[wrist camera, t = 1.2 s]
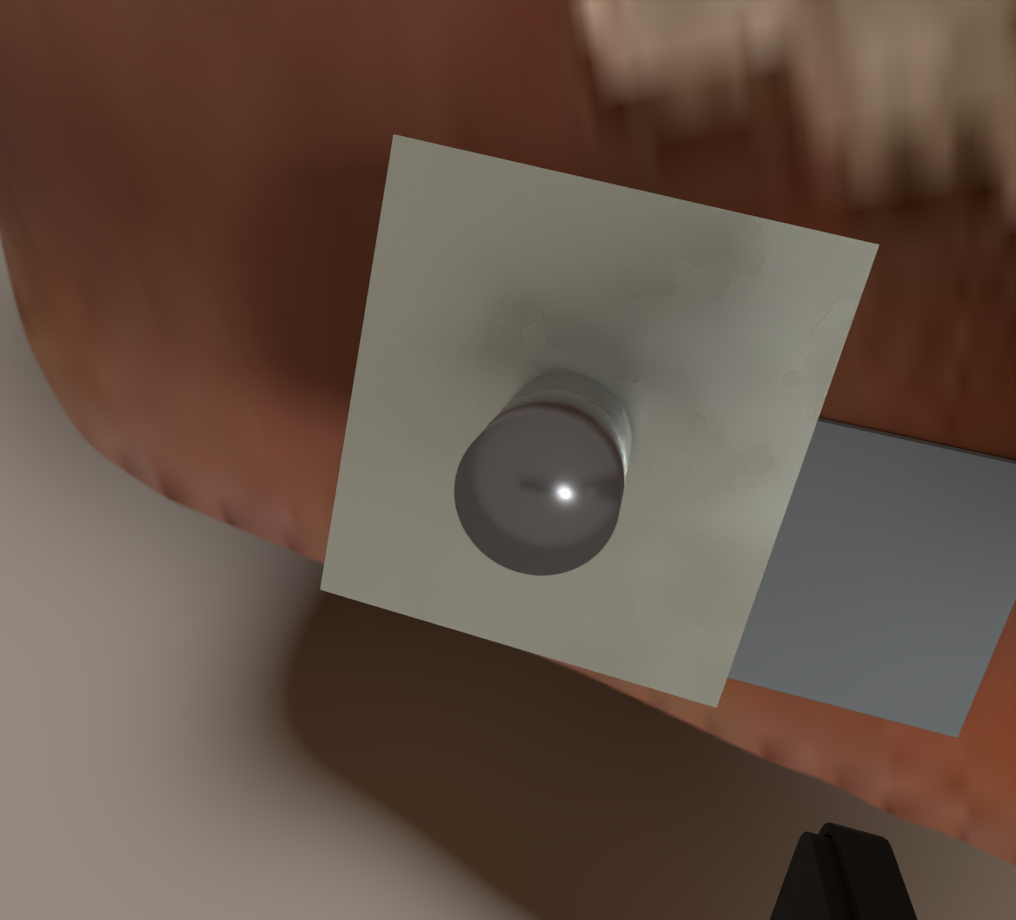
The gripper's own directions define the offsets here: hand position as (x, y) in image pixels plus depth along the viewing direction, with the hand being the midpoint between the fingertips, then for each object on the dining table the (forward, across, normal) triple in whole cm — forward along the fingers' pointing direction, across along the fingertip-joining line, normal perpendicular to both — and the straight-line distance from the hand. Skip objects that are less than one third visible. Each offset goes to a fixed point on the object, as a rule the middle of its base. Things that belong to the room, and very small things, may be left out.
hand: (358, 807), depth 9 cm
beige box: (+33, -1, -1) cm, 33 cm away
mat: (+32, -15, +8) cm, 36 cm away
